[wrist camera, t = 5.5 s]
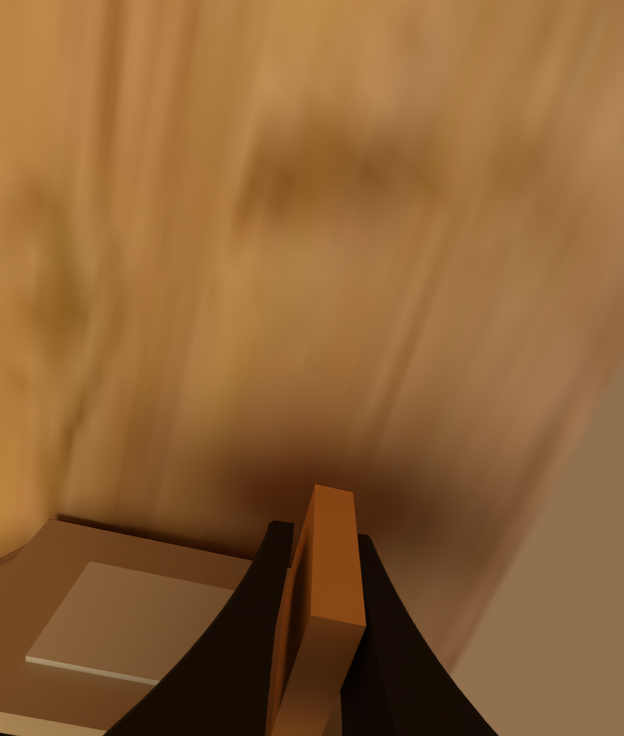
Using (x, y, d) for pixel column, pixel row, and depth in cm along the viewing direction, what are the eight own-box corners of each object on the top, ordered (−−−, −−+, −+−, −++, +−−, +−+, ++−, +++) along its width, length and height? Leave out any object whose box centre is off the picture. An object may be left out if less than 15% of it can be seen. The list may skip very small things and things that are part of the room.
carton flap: (377, 482, 13) (411, 653, 8) (337, 595, 15) (344, 793, 10) (51, 410, 13) (-137, 544, 8) (49, 536, 15) (-103, 714, 10)
